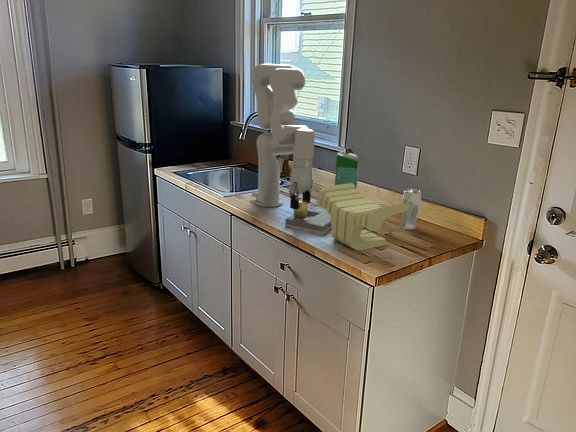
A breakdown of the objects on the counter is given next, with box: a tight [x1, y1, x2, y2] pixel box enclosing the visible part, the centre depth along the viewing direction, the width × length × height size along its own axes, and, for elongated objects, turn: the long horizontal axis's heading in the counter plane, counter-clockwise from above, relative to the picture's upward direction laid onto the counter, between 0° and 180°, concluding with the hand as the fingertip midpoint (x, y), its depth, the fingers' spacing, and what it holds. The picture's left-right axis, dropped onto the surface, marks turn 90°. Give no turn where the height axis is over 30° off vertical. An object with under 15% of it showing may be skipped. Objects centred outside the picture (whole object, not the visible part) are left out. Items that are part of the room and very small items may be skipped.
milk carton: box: [334, 150, 360, 189], centre depth 207 cm, size 9×9×25 cm
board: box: [284, 208, 332, 235], centre depth 188 cm, size 16×16×3 cm
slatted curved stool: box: [316, 183, 409, 251], centre depth 169 cm, size 30×16×18 cm, turn 31°
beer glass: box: [400, 188, 422, 231], centre depth 187 cm, size 7×7×15 cm
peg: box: [293, 199, 309, 221], centre depth 185 cm, size 5×5×9 cm
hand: (300, 205), depth 185 cm, fingers open, 9 cm apart
